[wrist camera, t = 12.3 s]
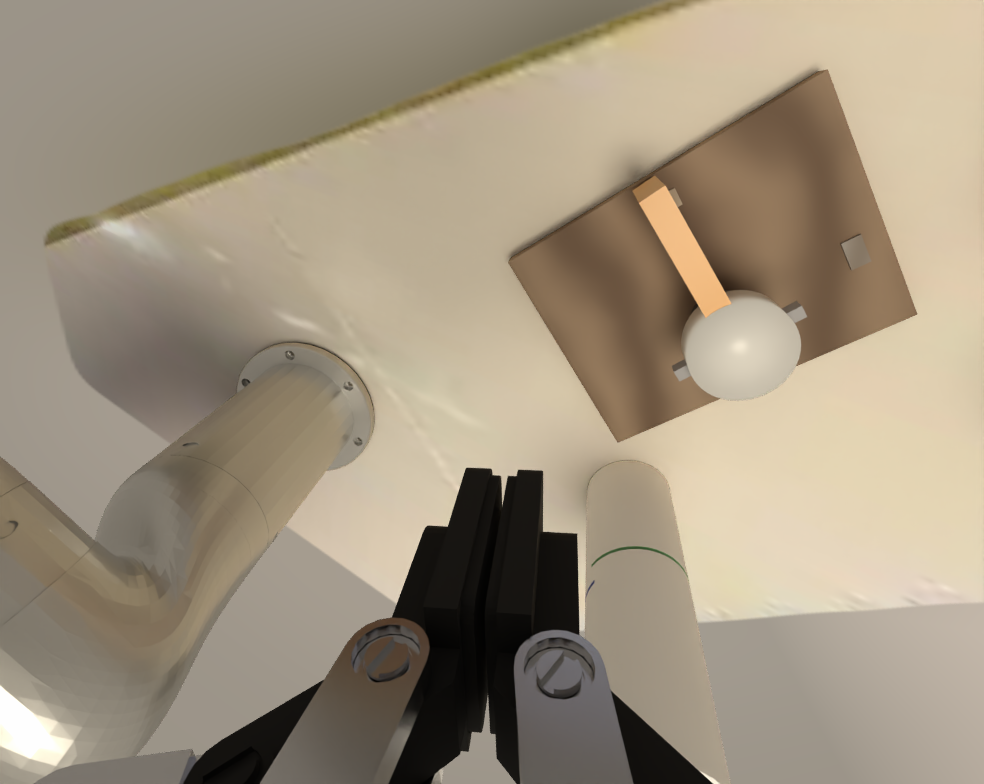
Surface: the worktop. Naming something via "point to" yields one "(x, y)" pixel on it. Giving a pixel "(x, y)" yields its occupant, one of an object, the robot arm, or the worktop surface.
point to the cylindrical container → (648, 612)
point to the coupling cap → (723, 316)
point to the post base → (721, 256)
